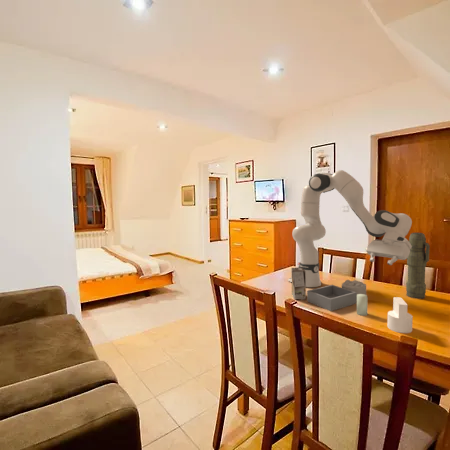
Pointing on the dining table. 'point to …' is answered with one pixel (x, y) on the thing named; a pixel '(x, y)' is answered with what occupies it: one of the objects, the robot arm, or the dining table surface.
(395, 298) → the base with upright slab
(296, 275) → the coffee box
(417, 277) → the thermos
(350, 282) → the lumpy-topped squat cylinder
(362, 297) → the tin
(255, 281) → the dining table surface
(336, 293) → the tote
